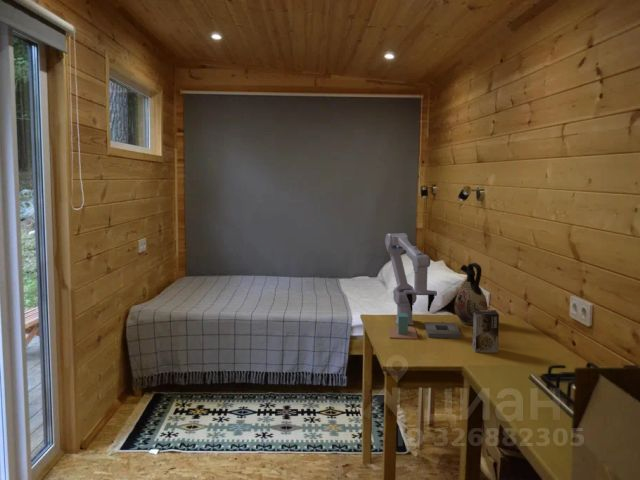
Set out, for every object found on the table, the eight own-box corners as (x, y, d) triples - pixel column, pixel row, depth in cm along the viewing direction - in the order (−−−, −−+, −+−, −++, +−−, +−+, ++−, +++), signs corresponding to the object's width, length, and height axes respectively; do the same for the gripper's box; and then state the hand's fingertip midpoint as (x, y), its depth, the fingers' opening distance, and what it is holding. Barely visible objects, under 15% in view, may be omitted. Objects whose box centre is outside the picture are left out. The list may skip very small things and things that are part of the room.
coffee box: (494, 348, 219) (496, 309, 217) (498, 353, 213) (499, 314, 211) (471, 347, 220) (473, 309, 218) (474, 352, 214) (476, 313, 212)
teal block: (397, 330, 242) (398, 313, 241) (406, 330, 242) (407, 313, 241) (398, 334, 236) (398, 316, 235) (407, 334, 236) (407, 316, 235)
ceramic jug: (447, 320, 260) (449, 260, 256) (472, 317, 267) (474, 258, 263) (470, 329, 245) (473, 265, 241) (496, 326, 251) (499, 263, 248)
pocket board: (424, 326, 251) (424, 321, 251) (454, 326, 250) (454, 322, 249) (428, 337, 233) (428, 333, 233) (461, 338, 232) (461, 334, 232)
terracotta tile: (388, 328, 248) (388, 326, 247) (414, 328, 246) (414, 327, 246) (389, 338, 232) (389, 337, 232) (417, 339, 231) (417, 337, 231)
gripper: (405, 282, 237) (404, 312, 239) (438, 283, 236) (437, 313, 237) (404, 279, 244) (403, 308, 246) (436, 280, 243) (435, 309, 244)
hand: (420, 310), depth 242 cm, fingers open, 7 cm apart
